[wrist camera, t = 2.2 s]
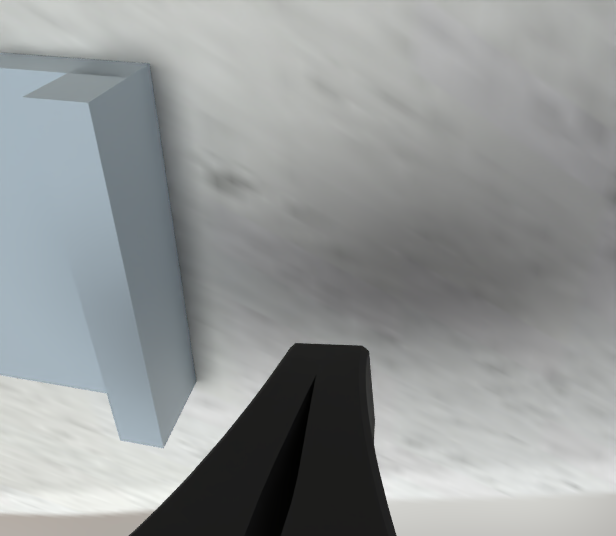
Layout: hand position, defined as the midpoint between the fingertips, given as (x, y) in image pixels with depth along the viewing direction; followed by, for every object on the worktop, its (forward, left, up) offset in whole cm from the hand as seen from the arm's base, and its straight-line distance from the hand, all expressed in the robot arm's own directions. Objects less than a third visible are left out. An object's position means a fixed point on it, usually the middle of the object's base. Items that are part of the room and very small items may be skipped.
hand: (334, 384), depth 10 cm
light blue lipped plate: (+10, 0, -4) cm, 11 cm away
